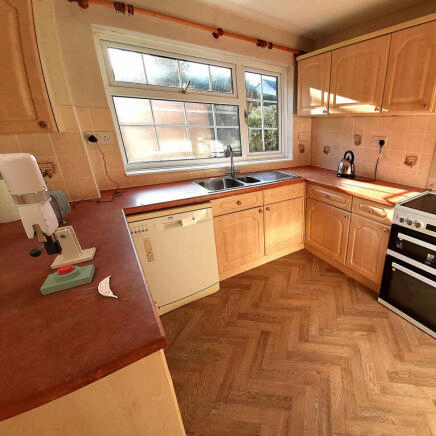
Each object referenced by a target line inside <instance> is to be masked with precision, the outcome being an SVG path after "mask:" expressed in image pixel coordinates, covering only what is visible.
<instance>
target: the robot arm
mask: <svg viewBox="0 0 436 436" xmlns="http://www.w3.org/2000/svg"><path fill="white" fill-rule="evenodd" d="M44 179H45V178H44V177H43V174H42V172H41V169H40V166H39V165H38V161H37V160H36V158H35V156H34V155H33V154H31V153H28V152H11V153H0V181H2V180H3V181H4V184H5V186H6V188H7V191H8V193H9V195H10V197H11V199H12V201H13V203H14V206H15V207H17V209H18V213H19V217H20V220H21V224H22V226H23V228H24V231H25V233H26V236H27V238H28V239H29V240H34V239H35V238H36V237H37V239H38V242H39V243H40V244H42V246H44V247H45V249H44V250H45V251H46V254H47V255H48V256H53V255H59V254H62V247H61V245H60V242H59V240H57V239H58V237H57V234H56V232H57V230H56V229H57V228H59V222H58V221H57V218H56V215H55V213H54V211H53V209H52V207H51V204H50V203H49V201H50V200H51V197H50V195H49V192H48V189H49V188H48V187H47V184H46V185H45V183H46V181H45V180H44ZM47 188H48V189H47Z"/></svg>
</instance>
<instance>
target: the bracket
mask: <svg viewBox="0 0 436 436" xmlns="http://www.w3.org/2000/svg"><path fill="white" fill-rule="evenodd" d="M65 228H67V229H68V230H64V229H65ZM55 231H56V234H57V237H58V239H57V240H59V242H60V245H61V247H62V252H61V254H57V256H56V257H55V259H54V260H53V262H52V263H51V265H50V268H51V270H55V269H59V268H60V267H62V266H65V265H76V264H80V263H84V262H88V261H91V260H93V259H94V257H95V254H96V251H97V249H96V247H90V248H86V249H82V247H81V244H80V242H79V239H78V237H77V234H76V233H75V230H74V227H73V226H72V225H67V226H62V227H57V229H56V230H55ZM70 231H71V232H72V233H71V232H70Z"/></svg>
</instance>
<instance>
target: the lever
mask: <svg viewBox="0 0 436 436" xmlns="http://www.w3.org/2000/svg"><path fill="white" fill-rule="evenodd" d="M64 230H68V229H67V228H65V229H64ZM70 232H71V231H70ZM71 233H72V232H71ZM44 250H46V249H45V247H44V245H42V246H40V247H39V248H38V247H37V248H35V247H34V248H32V249H30V251H29V252H28V253H29V256H30V257H32V258H38V257H41V256H42V254H43V251H44Z"/></svg>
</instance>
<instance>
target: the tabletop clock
mask: <svg viewBox="0 0 436 436" xmlns="http://www.w3.org/2000/svg"><path fill="white" fill-rule="evenodd" d="M43 179H44V182H45V185H46V186H47V184H48V181H47V179H45V178H43ZM47 189H48V192H49V195H50V197H51V200H50V201H49V203H50V204H51V207H52V209H53V211H54V213H55V215H56V218H57V221H58V223H61V222H62V224H63V225H67V224H68V221H65V219H64V218H65V217H66V216H68V215H69V214H71V210H72V209H71V205H70V202H69V200H68V198H67V196H66V194H65V193H64V191H63V190H59V189H50V188H48V187H47Z"/></svg>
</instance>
